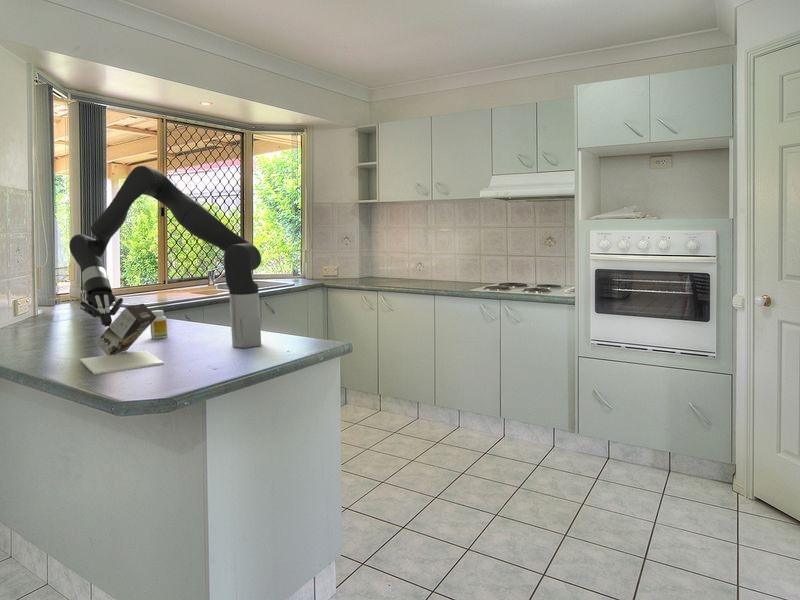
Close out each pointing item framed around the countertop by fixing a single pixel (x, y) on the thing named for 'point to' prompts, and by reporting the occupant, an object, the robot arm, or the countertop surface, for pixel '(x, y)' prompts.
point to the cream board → (120, 362)
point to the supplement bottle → (158, 325)
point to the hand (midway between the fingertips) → (107, 324)
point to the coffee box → (125, 329)
